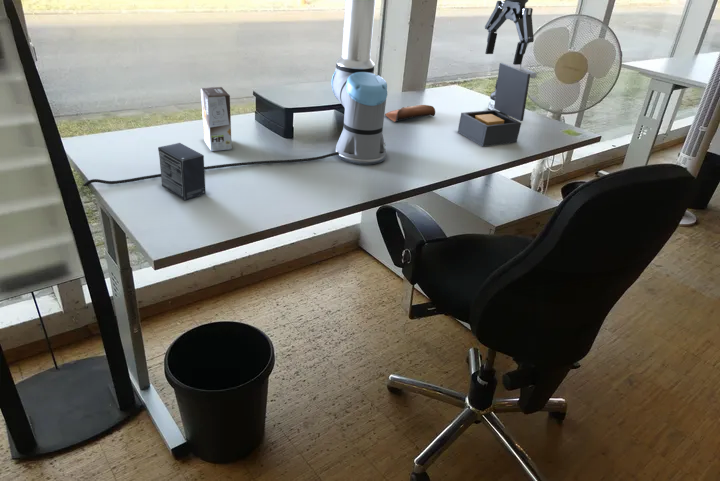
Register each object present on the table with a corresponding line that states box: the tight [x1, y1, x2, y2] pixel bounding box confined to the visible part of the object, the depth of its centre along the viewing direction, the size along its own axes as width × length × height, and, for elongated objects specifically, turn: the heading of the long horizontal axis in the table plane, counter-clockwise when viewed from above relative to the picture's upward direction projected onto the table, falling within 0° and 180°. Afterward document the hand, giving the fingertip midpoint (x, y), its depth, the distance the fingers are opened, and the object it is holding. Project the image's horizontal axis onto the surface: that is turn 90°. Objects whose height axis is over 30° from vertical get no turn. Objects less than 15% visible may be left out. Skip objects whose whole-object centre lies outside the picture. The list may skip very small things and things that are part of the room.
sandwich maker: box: [457, 109, 522, 147], centre depth 189 cm, size 15×14×7 cm
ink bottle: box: [487, 78, 508, 116], centre depth 215 cm, size 10×9×12 cm
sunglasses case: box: [384, 104, 436, 123], centre depth 202 cm, size 18×7×7 cm
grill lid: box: [494, 62, 537, 122], centre depth 187 cm, size 16×14×8 cm
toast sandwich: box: [475, 114, 504, 125], centre depth 189 cm, size 7×7×6 cm
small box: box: [157, 142, 207, 201], centre depth 134 cm, size 11×6×10 cm, turn 48°
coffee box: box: [200, 86, 233, 152], centre depth 160 cm, size 9×6×16 cm
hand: (502, 59), depth 177 cm, fingers open, 13 cm apart
